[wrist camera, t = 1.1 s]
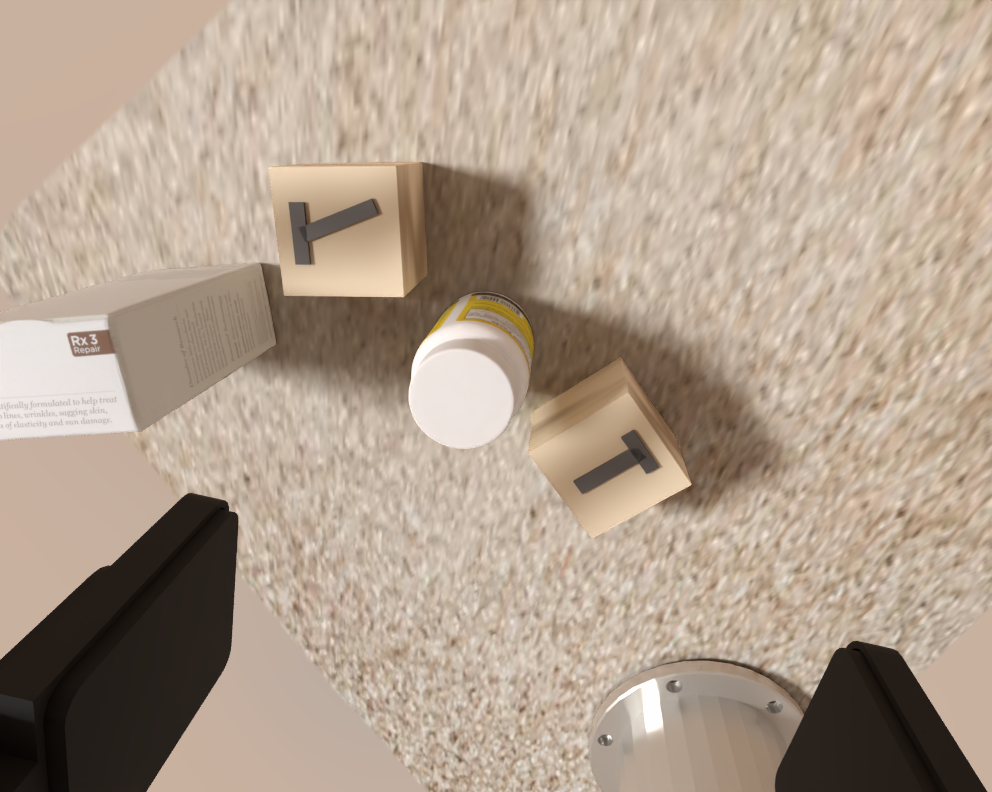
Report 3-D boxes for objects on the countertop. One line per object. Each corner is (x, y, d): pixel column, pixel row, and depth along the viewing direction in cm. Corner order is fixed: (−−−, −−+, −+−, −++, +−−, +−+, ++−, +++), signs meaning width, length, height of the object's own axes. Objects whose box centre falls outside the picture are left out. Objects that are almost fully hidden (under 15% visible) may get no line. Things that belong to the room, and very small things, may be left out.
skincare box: (170, 352, 35) (-22, 454, 24) (146, 263, 33) (-72, 328, 22) (285, 344, 34) (143, 445, 23) (266, 253, 33) (103, 314, 21)
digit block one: (675, 436, 34) (692, 486, 29) (589, 485, 35) (592, 540, 30) (620, 356, 33) (628, 393, 28) (534, 409, 34) (527, 454, 29)
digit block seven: (428, 274, 32) (402, 297, 27) (325, 273, 33) (282, 296, 28) (422, 162, 30) (395, 166, 26) (314, 162, 31) (266, 167, 26)
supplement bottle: (456, 396, 34) (422, 472, 26) (422, 307, 33) (375, 360, 25) (548, 369, 33) (541, 440, 25) (518, 276, 32) (500, 321, 24)
